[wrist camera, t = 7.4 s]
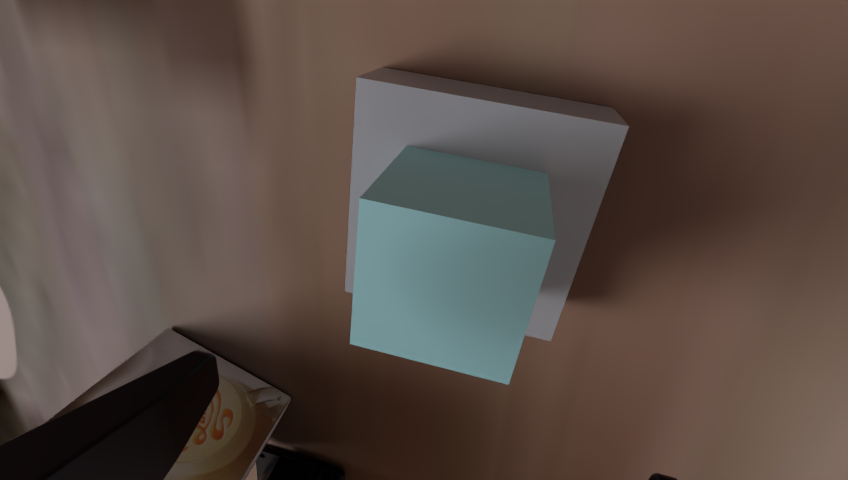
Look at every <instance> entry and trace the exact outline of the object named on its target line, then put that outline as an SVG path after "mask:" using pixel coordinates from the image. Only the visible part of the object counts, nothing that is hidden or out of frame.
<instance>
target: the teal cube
mask: <svg viewBox="0 0 848 480" xmlns="http://www.w3.org/2000/svg"><path fill="white" fill-rule="evenodd" d="M555 241H556V239H555V230H554V222H553V213H552V205H551V196H550V187H549V179H548V173H543V172H538V171H533V170H528V169H523V168H518V167H513V166H508V165H503V164H498V163H493V162H488V161H483V160H477V159H472V158H467V157H462V156H457V155H452V154H447V153H442V152H437V151H432V150H427V149H422V148H417V147H412V146H406V147H405V148H404V149H403V150H402V151H401V152H400V154H399V155H398V156H397V157H396V158H395V159H394V160H393V161H392V162H391V164H390V165H389V166H388V167H387V168H386V169H385V170H384V171H383V172H382V174H381V175H380V176H379V177H378V178H377V179H376V180H375V181H374V182H373V184H372V185H371V186H370V187H369V188H368V189H367V190H366V191H365V193H364V194H363V195H362V196H361V197H360V198H359V212H358V227H357V242H356V257H355V272H354V287H353V302H352V317H351V332H350V344H352V345H356V346H360V347H364V348H368V349H371V350H375V351H379V352H383V353H387V354H391V355H395V356H399V357H402V358H406V359H410V360H414V361H418V362H422V363H426V364H430V365H433V366H437V367H441V368H445V369H449V370H453V371H457V372H461V373H465V374H468V375H472V376H476V377H480V378H484V379H488V380H492V381H496V382H499V383H503V384H507V385H509V382H510V379H511V376H512V373H513V370H514V367H515V364H516V361H517V358H518V355H519V352H520V349H521V346H522V342H523V339H524V336H525V333H526V330H527V327H528V324H529V321H530V318H531V315H532V312H533V309H534V306H535V302H536V299H537V296H538V293H539V290H540V287H541V284H542V281H543V278H544V275H545V272H546V269H547V266H548V262H549V259H550V256H551V253H552V250H553V247H554V244H555Z"/></svg>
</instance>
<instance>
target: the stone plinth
mask: <svg viewBox="0 0 848 480" xmlns="http://www.w3.org/2000/svg"><path fill="white" fill-rule="evenodd" d="M628 128H629V126H628V124H627V123H626V122H625V121H624V120H623V119H622V117H621V116H620V115H619V114H618V113H617V112H616V110H615V109H614V108H612V107H606V106H600V105H595V104H589V103H583V102H578V101H572V100H566V99H561V98H555V97H549V96H544V95H538V94H532V93H526V92H521V91H515V90H509V89H504V88H498V87H492V86H487V85H481V84H475V83H470V82H464V81H458V80H453V79H447V78H441V77H436V76H430V75H424V74H419V73H413V72H407V71H402V70H396V69H390V68H384V67H381V68H379V69H376V70H374V71H371V72H369V73H366V74H363V75H361V76H358V77H357V78H356V96H355V115H354V133H353V151H352V170H351V188H350V207H349V225H348V243H347V262H346V280H345V292H349V293H353V287H354V272H355V257H356V242H357V227H358V212H359V198H360V197H361V196H362V195H363V194H364V193H365V191H366V190H367V189H368V188H369V187H370V186H371V185H372V184H373V182H374V181H375V180H376V179H377V178H378V177H379V176H380V175H381V174H382V172H383V171H384V170H385V169H386V168H387V167H388V166H389V165H390V164H391V162H392V161H393V160H394V159H395V158H396V157H397V156H398V155H399V154H400V152H401V151H402V150H403V149H404V148H405V147H406V146H412V147H417V148H422V149H427V150H432V151H437V152H442V153H447V154H452V155H457V156H462V157H467V158H472V159H477V160H483V161H488V162H493V163H498V164H503V165H508V166H513V167H518V168H523V169H528V170H533V171H538V172H543V173H548V179H549V187H550V196H551V205H552V213H553V222H554V230H555V239H556V241H555V244H554V247H553V250H552V253H551V256H550V259H549V262H548V266H547V269H546V272H545V275H544V278H543V281H542V284H541V287H540V290H539V293H538V296H537V299H536V302H535V306H534V309H533V312H532V315H531V318H530V321H529V324H528V327H527V330H526V333H525V335H527V336H531V337H535V338H539V339H543V340H547V341H551V339H552V336H553V334H554V331H555V328H556V325H557V323H558V320H559V317H560V314H561V312H562V309H563V306H564V303H565V301H566V298H567V295H568V292H569V290H570V287H571V284H572V282H573V279H574V276H575V273H576V271H577V268H578V265H579V262H580V260H581V257H582V254H583V251H584V249H585V246H586V243H587V240H588V238H589V235H590V232H591V230H592V227H593V224H594V221H595V219H596V216H597V213H598V210H599V208H600V205H601V202H602V199H603V197H604V194H605V191H606V188H607V186H608V183H609V180H610V178H611V175H612V172H613V169H614V167H615V164H616V161H617V158H618V156H619V153H620V150H621V147H622V145H623V142H624V139H625V136H626V134H627V131H628Z"/></svg>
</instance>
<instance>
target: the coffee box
mask: <svg viewBox="0 0 848 480" xmlns="http://www.w3.org/2000/svg"><path fill="white" fill-rule="evenodd" d="M195 350H201V351H204V352H208V353H212V352H210V351H209V350H207V349H205V348H203V347H201V346H200V345H198V344H196V343H194V342H192V341H191V340H189V339H187V338H185V337H183V336H182V335H180V334H178V333H176V332H175V331H173V330H171V329H166V330H164V331H163V332H162V333H160V334H159V335H158V336H157V337H155V338H154V339H153V340H151V341H150V342H149V343H147V344H146V345H145V346H143V347H142V348H141V349H139V350H138V351H137V352H135V353H134V354H133V355H132V356H131V357H129V358H128V359H127V360H125V361H124V362H123V363H121V364H120V365H119V366H117V367H116V368H115V369H114V370H112V371H111V372H110V373H109V374H107V375H106V376H105V377H104V378H102V379H101V380H100V381H99V382H97V383H96V384H95V385H93V386H92V387H91V388H89V389H88V390H87V391H85V392H84V393H83V394H82V395H80V396H79V397H78V398H76V399H75V400H74V401H73V402H71V403H70V404H68V405H67V406H66V407H65V408H63V409H62V410H61V411H59V412H58V413H57V414H55V415H54V416H53V417H52V418H50V419H49V420H48V421H51V420H53V419H55V418H57V417H59V416H61V415H63V414H65V413H67V412H69V411H71V410H73V409H75V408H77V407H79V406H81V405H83V404H85V403H87V402H89V401H91V400H93V399H96V398H98V397H100V396H102V395H104V394H106V393H108V392H110V391H112V390H114V389H116V388H118V387H120V386H122V385H124V384H126V383H128V382H130V381H132V380H134V379H136V378H139V377H141V376H143V375H145V374H147V373H149V372H151V371H153V370H155V369H157V368H159V367H161V366H163V365H165V364H167V363H169V362H171V361H173V360H175V359H177V358H179V357H181V356H184V355H186V354H188V353H190V352H192V351H195ZM212 354H214V353H212ZM214 355H215V357H216V359H217V366H218V373H219V387H218V390H217V392H216V394H215V396H214V397H213V399H212V401H211V403H210V404H209V406H208V408H207V410H206V411H205V413H204V415H203V417H202V418H201V420H200V422H199V423H198V425H197V427H196V429H195V430H194V432H193V434H192V436H191V437H190V439H189V441H188V443H187V444H186V446H185V448H184V449H183V451H182V453H181V454H180V456H179V458H178V459H177V461H176V462H175V464H174V465H173V467H172V468H171V470H170V471H169V472H168V474H167V475H166V477H165V478H164V479H163V480H245V479H246V477H247V476H248V474H249V472H250V470H251V469H252V467H253V465H254V464H255V462H256V460H257V459H258V457H259V456H260V454H261V452H262V451H263V449H264V447H265V445H266V444H267V442H268V440H269V438H270V437H271V435H272V433H273V431H274V429H275V428H276V426H277V424H278V422H279V421H280V419H281V417H282V415H283V413H284V412H285V410H286V408H287V406H288V404H289V402H290V400H291V398H290V396H288V395H286V394H285V393H283V392H281V391H280V390H278V389H276V388H274V387H272V386H271V385H269V384H267V383H265V382H263V381H262V380H260V379H258V378H256V377H254V376H253V375H251V374H249V373H247V372H246V371H244V370H242V369H240V368H239V367H237V366H235V365H233V364H231V363H230V362H228V361H226V360H224V359H223V358H221V357H219V356H217V355H216V354H214ZM48 421H46V422H48ZM46 422H45V423H46Z"/></svg>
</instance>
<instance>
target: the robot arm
mask: <svg viewBox="0 0 848 480" xmlns="http://www.w3.org/2000/svg"><path fill="white" fill-rule="evenodd" d="M218 387H219V373H218V366H217V359H216V357H215V355H214V354H212V353H208V352H204V351H201V350H195V351H192V352H190V353H188V354H186V355H184V356H181V357H179V358H177V359H175V360H173V361H171V362H169V363H167V364H165V365H163V366H161V367H159V368H157V369H155V370H153V371H151V372H149V373H147V374H145V375H143V376H141V377H139V378H136V379H134V380H132V381H130V382H128V383H126V384H124V385H122V386H120V387H118V388H116V389H114V390H112V391H110V392H108V393H106V394H104V395H102V396H100V397H98V398H96V399H93V400H91V401H89V402H87V403H85V404H83V405H81V406H79V407H77V408H75V409H73V410H71V411H69V412H67V413H65V414H63V415H61V416H59V417H57V418H55V419H53V420H51V421H48V422H46V423H44V424H42V425H40V426H38V427H36V428H34V429H32V430H30V431H28V432H26V433H24V434H22V435H20V436H18V437H16V438H14V439H12V440H10V441H8V442H6V443H3V444H1V445H0V480H163V479H164V478H165V477H166V475H167V474H168V472H169V471H170V470H171V468H172V467H173V465H174V464H175V462H176V461H177V459H178V458H179V456H180V454H181V453H182V451H183V449H184V448H185V446H186V444H187V443H188V441H189V439H190V437H191V436H192V434H193V432H194V430H195V429H196V427H197V425H198V423H199V422H200V420H201V418H202V417H203V415H204V413H205V411H206V410H207V408H208V406H209V404H210V403H211V401H212V399H213V397H214V396H215V394H216V392H217V390H218ZM256 466H257V477H258V480H345V472H344V471H343V470H342V469H340V468H338V467H334V466H331V465H327V464H324V463H321V462H317V461H314V460H310V459H307V458H304V457H300V456H297V455H293V454H290V453H286V452H283V451H280V450H276V449H273V448H269V447H266V446H265V447H264V449H263V451H262V452H261V454H260V456H259V457H258V459H257V460H256ZM649 480H677V479H676V478H673V477H670V476H666V475H662V474H659V473H655V474H652V475H651V476H650V478H649Z"/></svg>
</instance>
